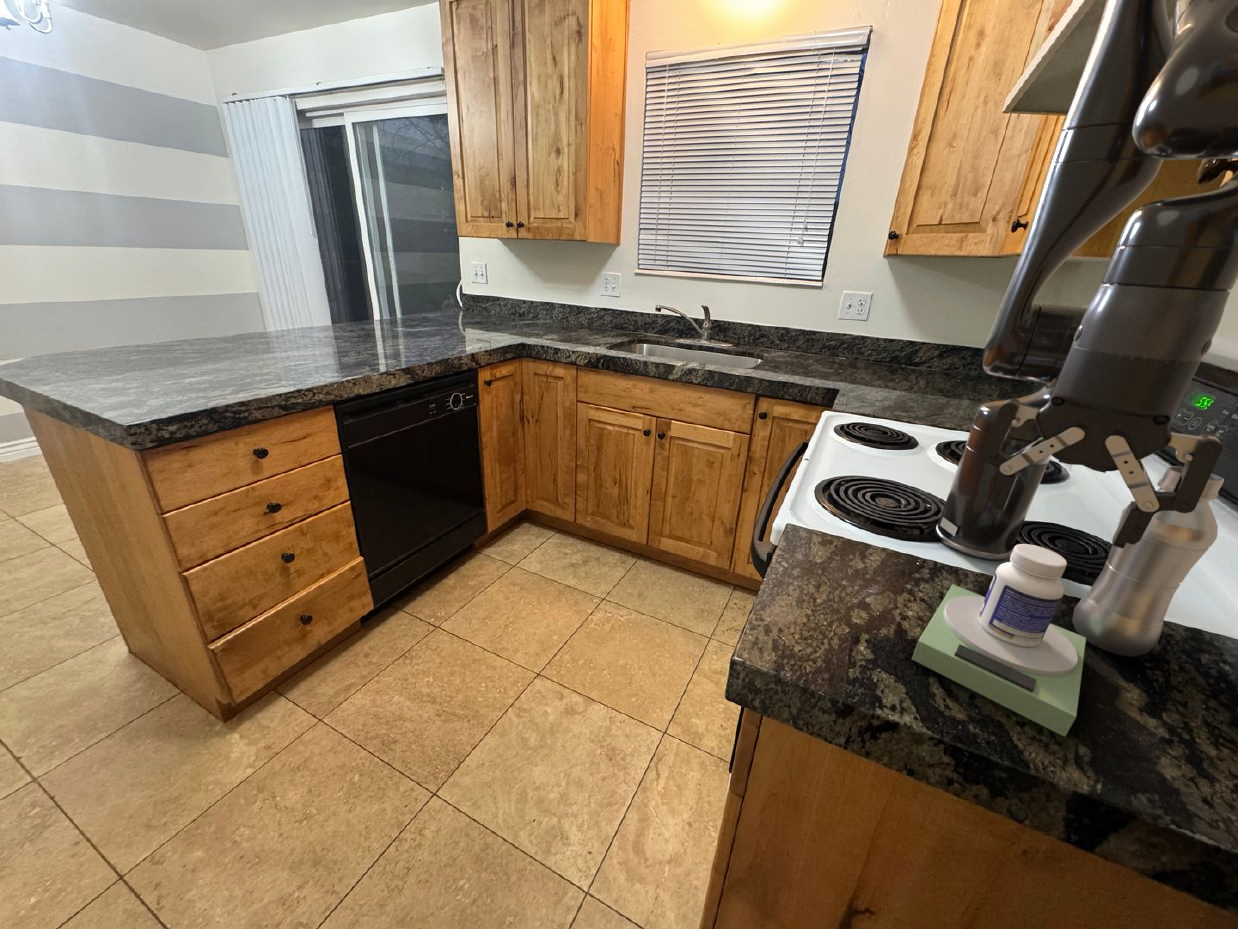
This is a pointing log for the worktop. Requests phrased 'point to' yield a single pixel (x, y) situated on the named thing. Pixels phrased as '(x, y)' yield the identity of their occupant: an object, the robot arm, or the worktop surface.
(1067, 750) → the worktop surface
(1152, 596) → the silver metal bottle
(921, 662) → the kitchen scale
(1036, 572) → the pill bottle
